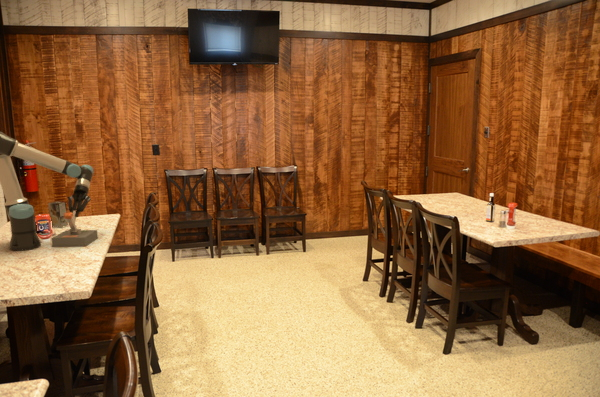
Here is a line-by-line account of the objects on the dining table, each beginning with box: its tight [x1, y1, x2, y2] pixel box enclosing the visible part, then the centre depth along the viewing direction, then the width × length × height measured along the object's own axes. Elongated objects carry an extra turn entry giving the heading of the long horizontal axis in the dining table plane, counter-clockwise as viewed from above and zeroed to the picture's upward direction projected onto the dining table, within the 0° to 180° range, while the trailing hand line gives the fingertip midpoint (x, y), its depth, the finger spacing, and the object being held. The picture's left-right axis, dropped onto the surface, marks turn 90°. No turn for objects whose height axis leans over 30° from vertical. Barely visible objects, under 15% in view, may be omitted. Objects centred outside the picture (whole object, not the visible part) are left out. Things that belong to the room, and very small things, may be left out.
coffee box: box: [48, 201, 69, 228], centre depth 312 cm, size 9×6×16 cm
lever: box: [64, 211, 79, 233], centre depth 267 cm, size 4×3×14 cm
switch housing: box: [51, 228, 99, 248], centre depth 271 cm, size 18×18×8 cm
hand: (72, 221), depth 268 cm, fingers closed
